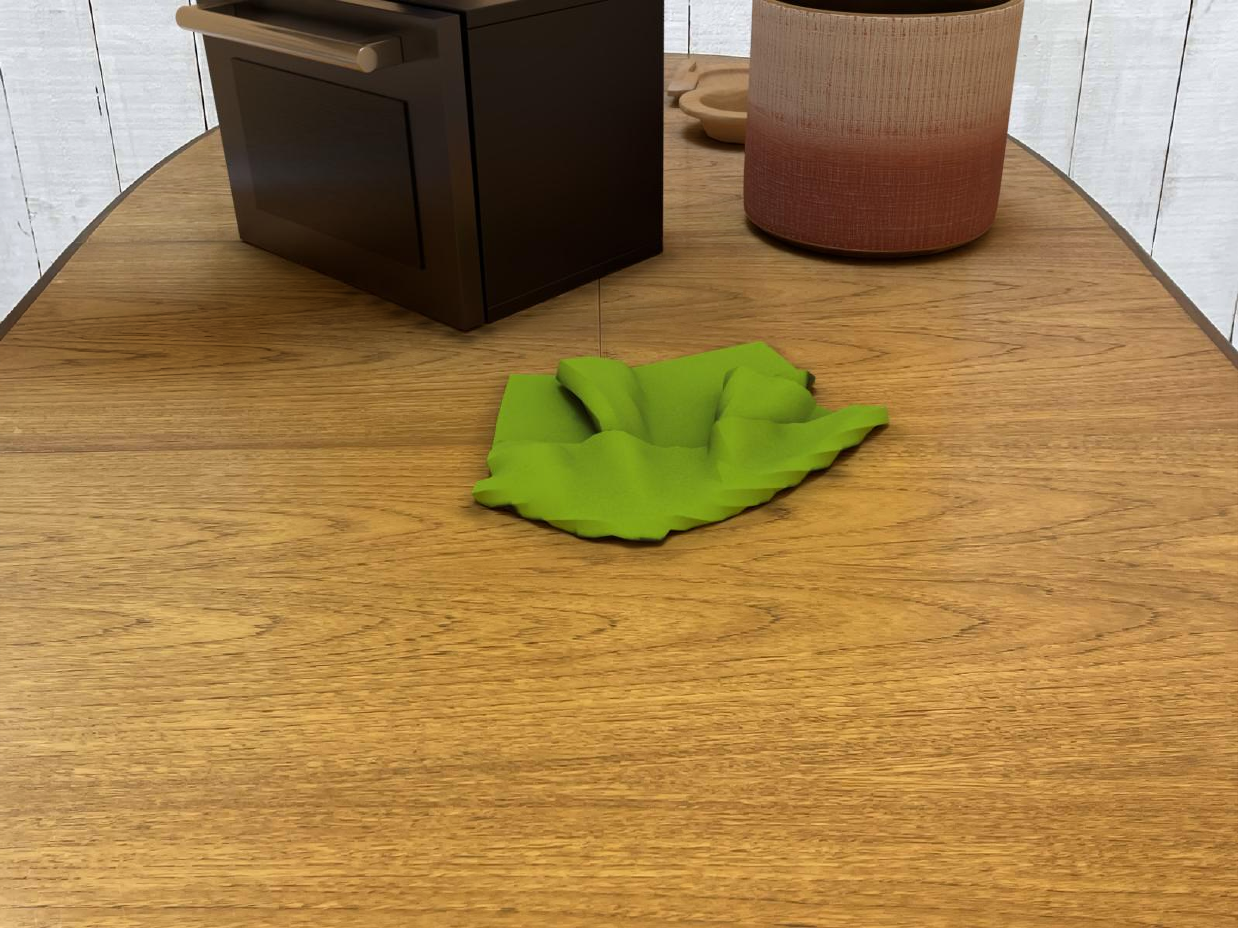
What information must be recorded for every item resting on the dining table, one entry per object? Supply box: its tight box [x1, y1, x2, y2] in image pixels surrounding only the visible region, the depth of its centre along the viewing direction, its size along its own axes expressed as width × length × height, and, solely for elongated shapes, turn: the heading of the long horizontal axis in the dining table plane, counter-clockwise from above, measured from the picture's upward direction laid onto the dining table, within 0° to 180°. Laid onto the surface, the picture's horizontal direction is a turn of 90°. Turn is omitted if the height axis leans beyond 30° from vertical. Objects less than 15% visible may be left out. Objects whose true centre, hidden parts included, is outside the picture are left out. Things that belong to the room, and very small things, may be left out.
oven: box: [382, 0, 665, 324], centre depth 83 cm, size 16×24×18 cm, turn 47°
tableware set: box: [666, 58, 750, 145], centre depth 116 cm, size 35×29×4 cm
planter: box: [742, 0, 1026, 259], centre depth 86 cm, size 18×18×16 cm
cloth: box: [470, 340, 890, 542], centre depth 63 cm, size 20×22×2 cm
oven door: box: [174, 0, 486, 331], centre depth 76 cm, size 5×24×18 cm, turn 47°
